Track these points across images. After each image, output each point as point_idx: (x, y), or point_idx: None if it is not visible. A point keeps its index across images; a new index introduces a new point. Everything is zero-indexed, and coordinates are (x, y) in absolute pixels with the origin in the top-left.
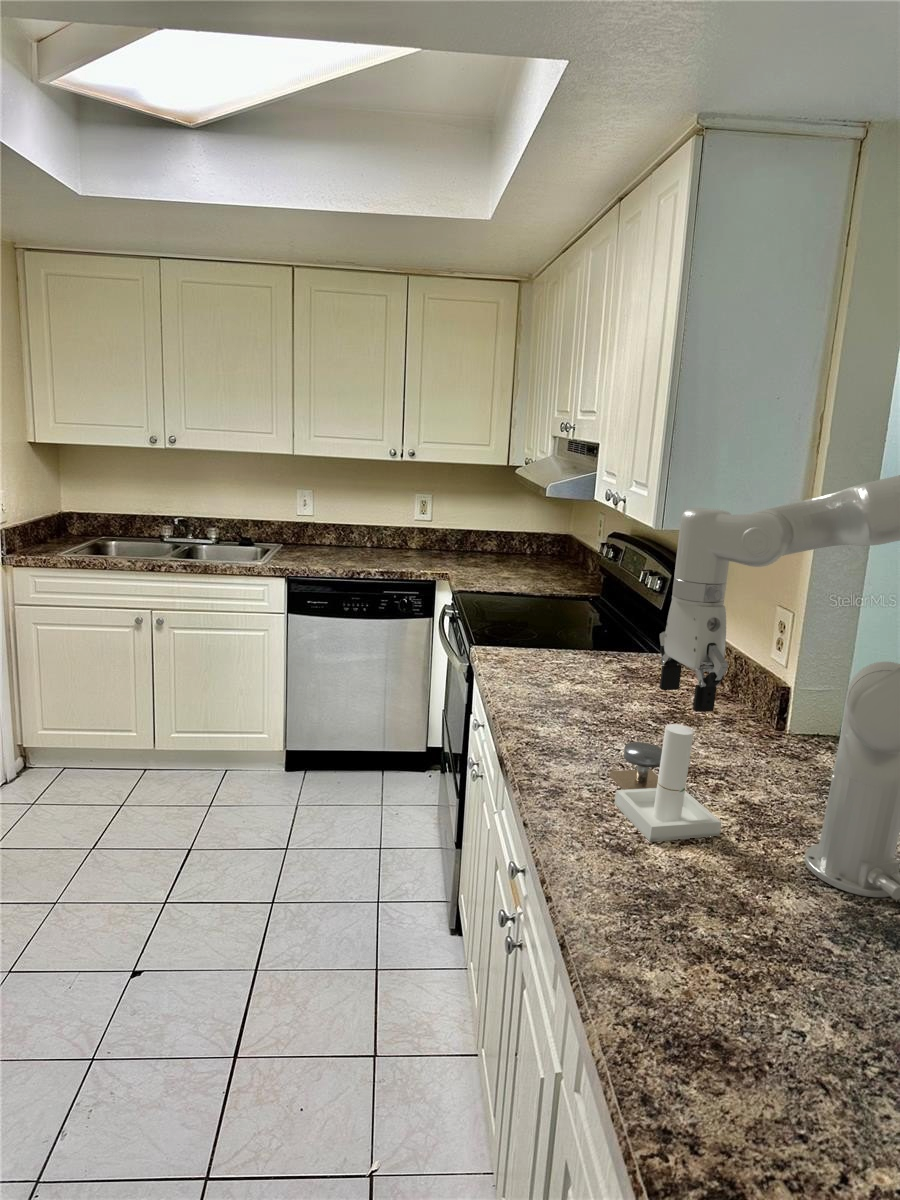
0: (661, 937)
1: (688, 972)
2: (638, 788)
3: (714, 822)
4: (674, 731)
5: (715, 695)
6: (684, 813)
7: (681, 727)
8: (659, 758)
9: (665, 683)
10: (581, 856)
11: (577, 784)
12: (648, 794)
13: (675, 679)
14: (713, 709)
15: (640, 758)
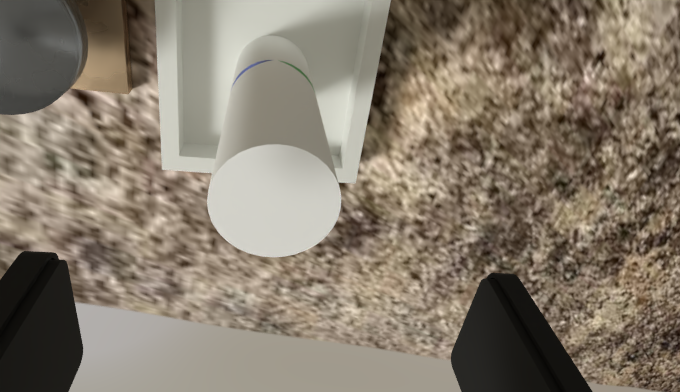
0: (561, 281)
1: (622, 284)
2: (106, 59)
3: (388, 9)
4: (296, 240)
5: (566, 352)
6: (265, 6)
7: (257, 184)
8: (69, 24)
9: (61, 383)
10: (353, 296)
11: (49, 187)
12: (179, 79)
13: (32, 351)
14: (514, 274)
15: (63, 93)
